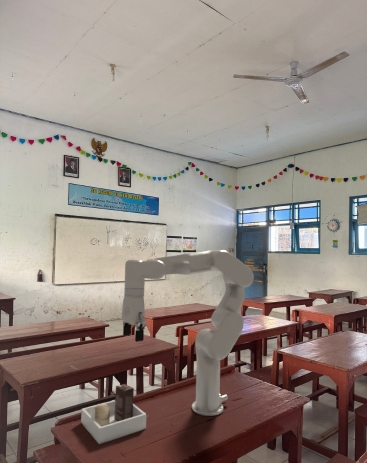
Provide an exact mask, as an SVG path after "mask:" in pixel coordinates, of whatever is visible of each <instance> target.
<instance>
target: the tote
mask: <svg viewBox="0 0 367 463" xmlns="http://www.w3.org/2000/svg"><path fill="white" fill-rule="evenodd" d="M100 404H108V405H109V406H110V422H109V425H106V426H102V427H101V426H100V425H99V424H98V423H97V422H96V421H95V407H96V406H97V405H100ZM114 417H115V399H113V400H110V401H107V402H102V403H98V404H94V405H91V406H88V407H84V408H81V418H80V419H81V420H80V423H81V424H82V426H83V427H84V428H85V429H86V430H87V432H88V433H89V434H90V435H91V437H92V438H93V439H94V440H95V442H96V443H97V444H98V445H101V444H104V443H107V442H108V443H109V442H110V441H114V440H116V439H120V438H122V437H125V436H128V435H130V434H134V433H138V432H140V431H143V430H146V429H147V413H146V412H144V411H143V410H142V409H141V408H139V407H138V406H137V405H136V404H135V403H133V417H132V418H128V419H125V420H122V421H119V422H118V421H117V420H115V419H114Z"/></svg>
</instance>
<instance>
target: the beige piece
mask: <svg viewBox="0 0 367 463" xmlns="http://www.w3.org/2000/svg"><path fill="white" fill-rule="evenodd" d="M99 404H100V405H98V404H96V405H97V406H96V407H95V421H96V422H97V423H98V424H99V425H100V426H101V427H102V426H106V425H109V422H110V406H109V405H108V404H102V403H99Z"/></svg>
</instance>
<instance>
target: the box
mask: <svg viewBox="0 0 367 463" xmlns="http://www.w3.org/2000/svg"><path fill="white" fill-rule="evenodd" d="M134 390H135V389H134V387H132V386H130V385H128V384H126V383H122V384H119V385H116V386H115V397H114V398H115V399H114V400H115V417H114V419H115V420H117V421H118V422H119V421H122V420H125V419H128V418H132V417H133V404H134V392H135V391H134Z"/></svg>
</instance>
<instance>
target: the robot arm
mask: <svg viewBox="0 0 367 463" xmlns="http://www.w3.org/2000/svg"><path fill="white" fill-rule="evenodd" d="M215 271H216V272H217V271H218V272H221V273H222V277H223V281H224V284H225V286H224V287H225V291H224V294H223V296H222V297H221V300H220V301H219V303H218V305H217V306H216V308H215V309H214V311H213V313H212V315H211V317H210V318H211V319H210V321H211V325H213V327H214V328H216V330H214V329H212V328H203V329H201V330H200V331H198V332H197V334H196V336H195V344H194V345H195V355H196V373H195V374H196V375H195V376H196V378H195V380H196V382H195V401H193V403H192V404H191V408H192V411H193V412H195V413H196V414H198V415H200V416H206V417H209V416H210V417H211V416H212V417H213V416H218V415H220V414H222V412H224V405H223V404H222V403H224V402H225V401H227V400H228V399H229V396H228V395H227V394H224V395H221V392H220V388H221V382H220V381H221V379H220V378H221V361H222V360H224V359H225V358H226V357H228V355H229V354H230V352H231V351H232V349H233V348H234V346H235V344H236V343H237V341H238V339H239V338H240V336H241V333H242V332H243V329H244V326H245V325H244V324H245V323H244V317H243V316H242V314H241V313H240V309H241V308H242V306H243V303H244V301H245V297H246V296H245V293H246V292H245V288H248V287H250V286H251V285H252V284H253V282H254V279H255V278H254V277H255V276H254V272H253V270H252V269H251V268H250V267H249V266H248V265H247V264H245V263H243V261H241V260H240V259H238V258H237V257H236V256H235V255H234V254H232V253H230V252H229V251H227V250H225V249H212V250H211V249H208V250H203V251H196V252H189V253H183V254H176V255H171V256H162V257H155V258H149V259H147V260H142V259H127V260H126V261H125V264H124V290H123V291H124V292H123V293H124V294H123V295H124V296H123V300H122V311H121V320H122V325H123V326H122V328H123V329H122V330H123V331H122V336H124V337H126V336H132V325H134V326H135V328H136V330H135V339H134V341H135V342H143V341H144V337H145V336H144V333H145V328H146V326H147V325H146V324H147V318H146V316H145V298H144V297H145V284H146V283H145V280H146V279H148V280H160V279H163V278H164V277H165V276H166V275H183V276H185V275H195V274H200V273H207V272H215Z"/></svg>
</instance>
